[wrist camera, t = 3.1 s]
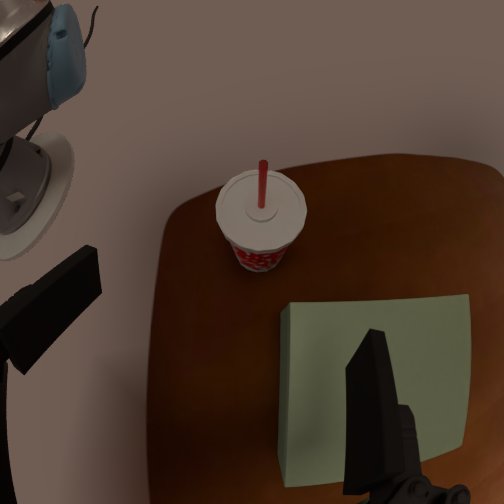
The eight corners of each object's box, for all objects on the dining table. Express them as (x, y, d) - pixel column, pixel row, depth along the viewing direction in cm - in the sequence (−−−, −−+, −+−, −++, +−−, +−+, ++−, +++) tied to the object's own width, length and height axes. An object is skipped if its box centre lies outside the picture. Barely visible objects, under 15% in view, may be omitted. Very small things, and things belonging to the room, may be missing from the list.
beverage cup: (219, 230, 28) (192, 136, 15) (278, 212, 28) (295, 112, 15) (238, 288, 26) (221, 234, 13) (300, 268, 27) (342, 198, 13)
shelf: (280, 312, 26) (289, 302, 19) (427, 305, 25) (468, 293, 19) (277, 454, 21) (284, 487, 15) (424, 430, 21) (461, 446, 14)
